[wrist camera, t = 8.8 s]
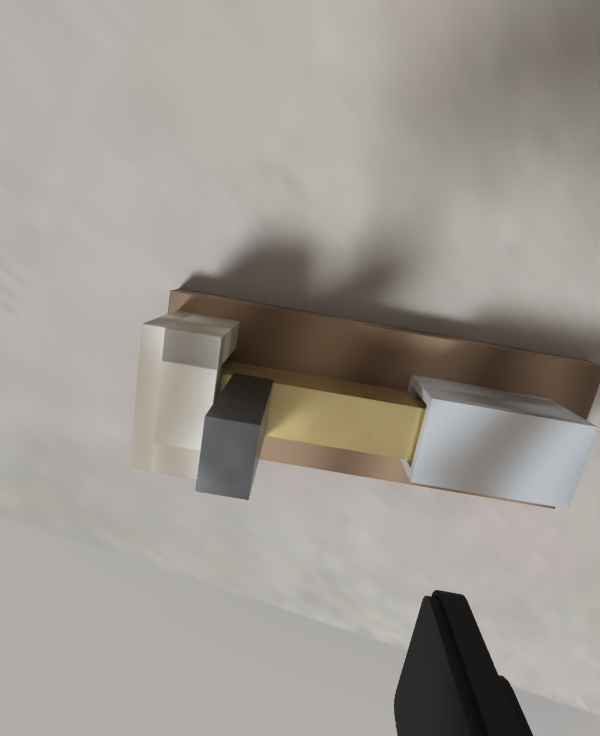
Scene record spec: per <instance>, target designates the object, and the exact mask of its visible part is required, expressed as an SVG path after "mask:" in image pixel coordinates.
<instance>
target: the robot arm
mask: <svg viewBox="0 0 600 736" xmlns="http://www.w3.org/2000/svg"><path fill="white" fill-rule="evenodd" d="M394 714H395V721H396V728H397V735H398V736H533V734H532V732H531V730H530V728H529V725H528V723H527V721H526V718H525V716H524V714H523V711H522V709H521V707H520V705H519V702H518V700H517V698H516V695H515V693H514V691H513V689H512V687H511V685H510V683H509V682H508V681H507V680H506V679H505V678H504V677H503V676H499V675H498V674H497V671H496V669H495V666H494V664H493V662H492V659H491V657H490V654H489V652H488V650H487V647H486V645H485V642H484V640H483V638H482V635H481V633H480V630H479V628H478V626H477V623H476V621H475V618H474V616H473V614H472V611H471V609H470V606H469V604H468V602H467V600H466V598H465V596H463V595H461V594H456V593H450V592H445V591H440V590H435V591H434V592H433V594H432V596H431V597H430V596H425V597H424V598H423V601H422V604H421V608H420V611H419V614H418V618H417V621H416V625H415V628H414V631H413V635H412V638H411V642H410V645H409V649H408V652H407V655H406V659H405V662H404V666H403V669H402V673H401V676H400V680H399V683H398V686H397V690H396V693H395V700H394Z"/></svg>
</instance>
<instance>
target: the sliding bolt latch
mask: <svg viewBox="0 0 600 736" xmlns="http://www.w3.org/2000/svg"><path fill="white" fill-rule="evenodd" d="M225 360H230V361H235V362H241V363H247V364H253V365H259V366H264V367H270V368H276V369H282V370H287V371H293V372H299V373H305V374H310V375H316V376H322V377H328V378H334V379H339V380H345V381H351V382H357V383H362V384H368V385H374V386H380V387H385V388H391V389H397V390H403V391H409V392H414V393H418V394H419V396H420V397H421V398H422V399H423V401H424V402H425V403H426V404H427V407H426V411H425V415H424V419H423V423H422V427H421V431H420V434H419V438H418V442H417V446H416V450H415V454H414V458H413V461H412V460H406V459H400V458H394V457H388V456H382V455H376V454H370V453H365V452H359V451H353V450H347V449H341V448H335V447H329V446H323V445H317V444H312V443H306V442H300V441H294V440H288V439H282V438H276V437H270V436H265V437H264V441H263V445H262V449H261V453H260V457H259V459H263V460H269V461H275V462H280V463H286V464H292V465H298V466H304V467H310V468H316V469H322V470H328V471H334V472H340V473H346V474H352V475H357V476H363V477H369V478H375V479H381V480H387V481H393V482H399V483H405V484H411V485H417V486H423V487H429V488H434V489H440V490H446V491H452V492H458V493H464V494H470V495H476V496H482V497H488V498H494V499H500V500H506V501H511V502H517V503H523V504H529V505H535V506H541V507H547V508H553V509H555V507H560V508H566V509H569V506H570V504H571V501H572V498H573V495H574V493H575V490H576V487H577V484H578V481H579V479H580V476H581V473H582V470H583V468H584V465H585V462H586V459H587V457H588V454H589V451H590V448H591V446H592V443H593V440H594V437H595V435H596V432H597V429H598V427H597V426H595V425H594V424H592V423H590V422H588V421H587V417H588V414H589V411H590V409H591V406H592V403H593V400H594V397H595V394H596V392H597V389H598V386H599V383H600V365H597V364H595V363H592V362H589V361H584V360H578V359H573V358H567V357H561V356H556V355H550V354H544V353H539V352H533V351H527V350H522V349H516V348H510V347H505V346H499V345H493V344H488V343H482V342H476V341H471V340H465V339H459V338H454V337H448V336H442V335H437V334H431V333H425V332H420V331H414V330H408V329H403V328H397V327H391V326H386V325H380V324H374V323H369V322H363V321H357V320H352V319H346V318H340V317H335V316H329V315H323V314H317V313H312V312H306V311H300V310H295V309H289V308H283V307H278V306H272V305H266V304H261V303H255V302H249V301H244V300H238V299H232V298H227V297H221V296H215V295H210V294H204V293H198V292H193V291H187V290H181V289H176V290H171V291H170V297H169V307H168V314H167V315H164V316H161V317H159V318H156V319H154V320H151V321H149V322H146V323H143V324H142V334H141V346H140V358H139V369H138V381H137V393H136V404H135V416H134V428H133V439H132V451H131V463H130V468H133V469H139V470H145V471H151V472H157V473H163V474H169V475H175V476H181V477H187V478H193V479H197V474H198V466H199V458H200V450H201V442H202V435H203V427H204V419H205V415H206V414H207V412H208V411H209V409H210V408H211V406H212V405H213V403H214V402H215V400H216V399H217V396H218V389H219V381H220V374H221V366H222V364H223V363H224V362H225Z"/></svg>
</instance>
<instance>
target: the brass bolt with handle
mask: <svg viewBox="0 0 600 736" xmlns="http://www.w3.org/2000/svg"><path fill="white" fill-rule="evenodd" d="M426 407H427V404H426V403H425V402H424V401H423V399H422V398H421V397H420V396H419V394H418V393H414V392H409V391H403V390H397V389H391V388H385V387H380V386H374V385H368V384H362V383H357V382H351V381H345V380H339V379H334V378H328V377H322V376H316V375H310V374H305V373H299V372H293V371H287V370H282V369H276V368H270V367H264V366H259V365H253V364H247V363H241V362H235V361H230V360H225V362H224V363H223V364H222V366H221V374H220V381H219V389H218V396H217V399H216V400H215V402H214V403H213V405H212V406H211V408H210V409H209V411H208V412H207V414H206V415H205V419H204V427H203V435H202V442H201V450H200V458H199V466H198V474H197V482H196V490H195V491H198V492H204V493H210V494H216V495H222V496H228V497H234V498H240V499H246V500H249V496H250V492H251V488H252V484H253V480H254V476H255V472H256V468H257V465H258V461H259V457H260V453H261V449H262V445H263V441H264V437H265V436H270V437H276V438H282V439H288V440H294V441H300V442H306V443H312V444H317V445H323V446H329V447H335V448H341V449H347V450H353V451H359V452H365V453H370V454H376V455H382V456H388V457H394V458H400V459H406V460H412V461H413V458H414V454H415V450H416V446H417V442H418V438H419V434H420V431H421V427H422V423H423V419H424V415H425V411H426Z"/></svg>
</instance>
